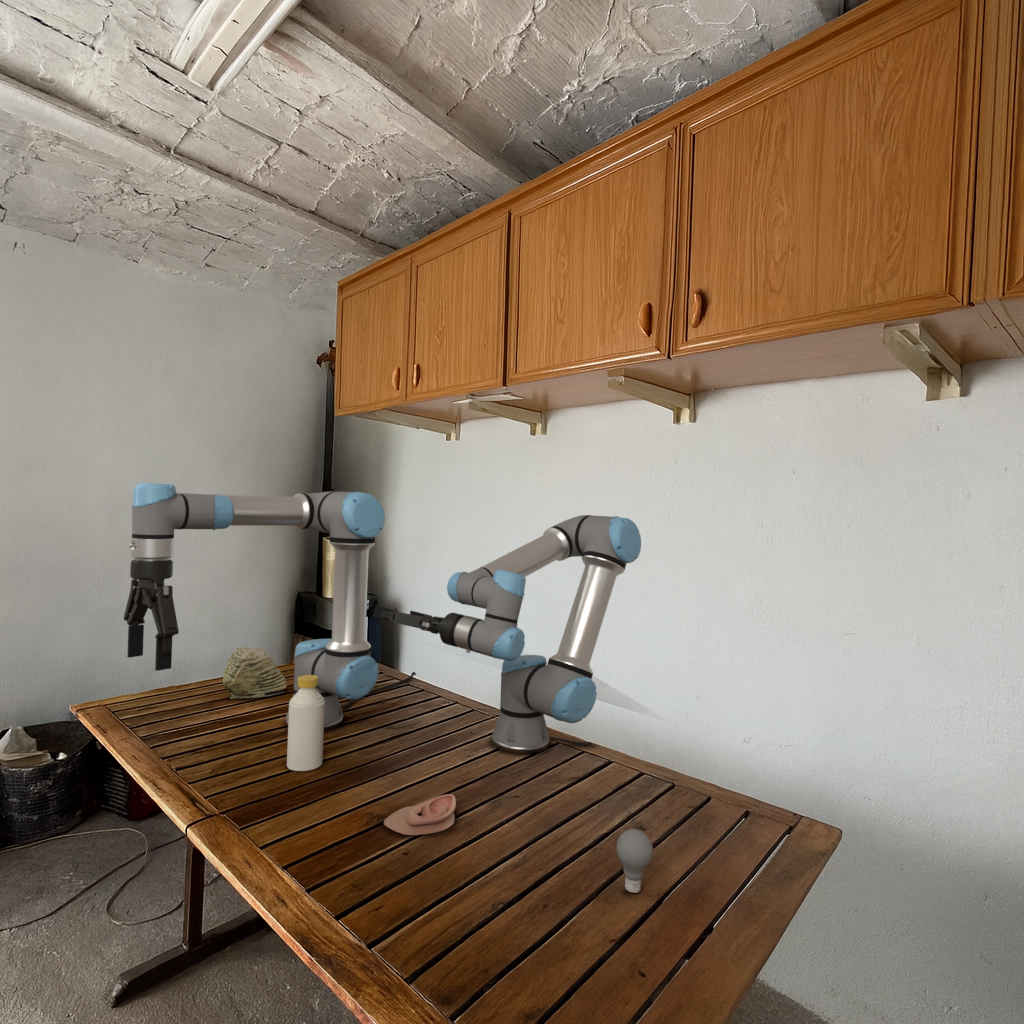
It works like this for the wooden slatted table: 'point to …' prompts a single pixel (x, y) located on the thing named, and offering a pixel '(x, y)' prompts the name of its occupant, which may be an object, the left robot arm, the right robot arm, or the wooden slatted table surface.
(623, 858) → the light bulb
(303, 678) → the cap
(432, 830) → the anatomical model
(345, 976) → the wooden slatted table surface
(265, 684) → the fossil
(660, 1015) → the wooden slatted table surface
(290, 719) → the bottle
